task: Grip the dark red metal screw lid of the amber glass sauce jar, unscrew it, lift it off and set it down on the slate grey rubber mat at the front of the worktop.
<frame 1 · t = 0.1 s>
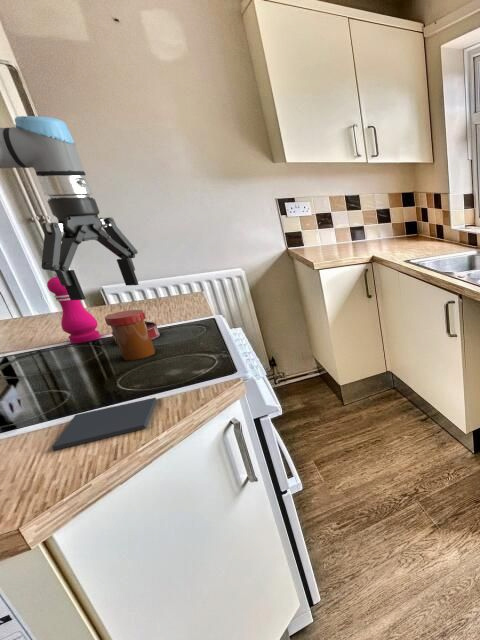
hand: (107, 292, 99), 17 cm above the worktop, tool pointing down, fingers open, 13 cm apart
mat: (110, 423, 77), on the worktop
lid: (124, 315, 104), point 11 cm above the worktop, screwed on, not yet turned
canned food: (138, 339, 120), on the worktop
pepper mill: (86, 340, 121), on the worktop
jar: (139, 355, 108), on the worktop
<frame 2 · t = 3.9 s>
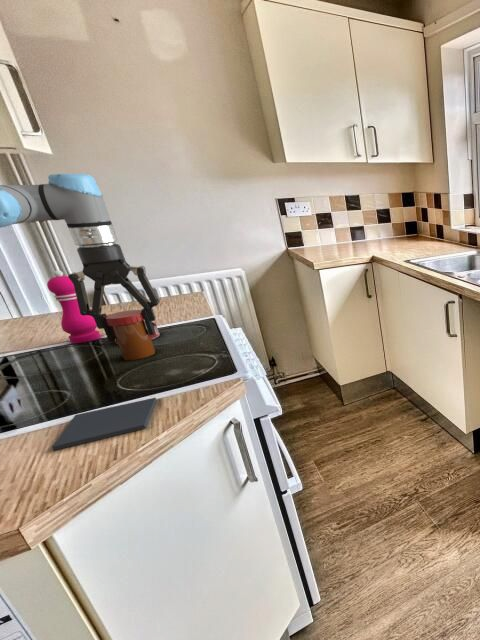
hand: (132, 336, 106), 5 cm above the worktop, tool pointing down, fingers closed on lid, 7 cm apart
lid: (124, 315, 104), point 11 cm above the worktop, screwed on, not yet turned, touching gripper
everything else where it was.
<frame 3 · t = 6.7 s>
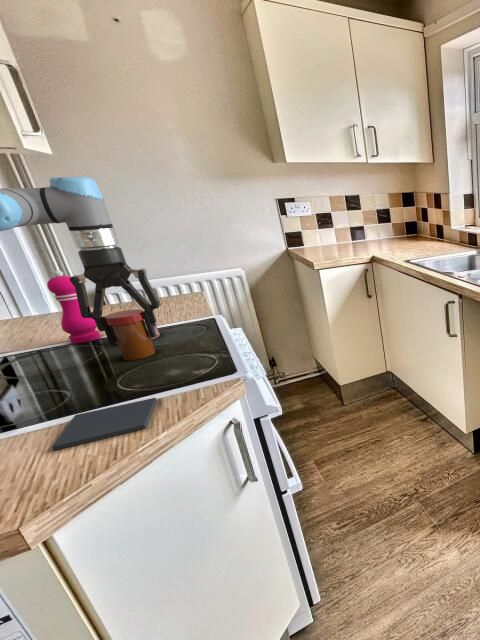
hand: (133, 339, 107), 4 cm above the worktop, tool pointing down, fingers closed on lid, 7 cm apart
lid: (124, 315, 104), point 11 cm above the worktop, turned 78° so far, risen 0.1 cm, still on its thread, touching gripper
everything else where it was.
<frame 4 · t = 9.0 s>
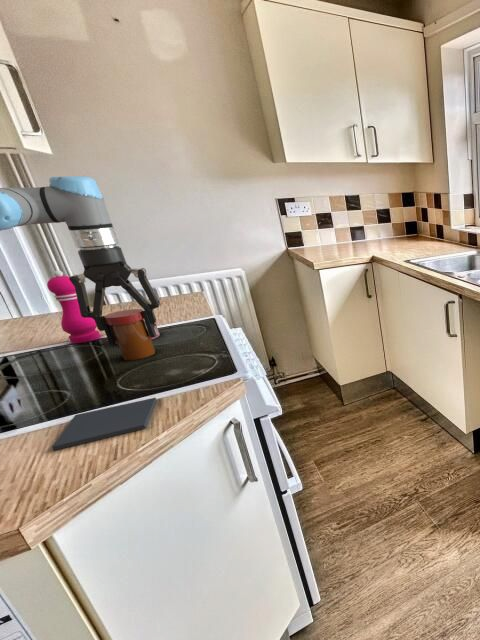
hand: (133, 338, 106), 5 cm above the worktop, tool pointing down, fingers closed on lid, 7 cm apart
lid: (124, 314, 104), point 11 cm above the worktop, turned 155° so far, risen 0.2 cm, still on its thread, touching gripper
everything else where it was.
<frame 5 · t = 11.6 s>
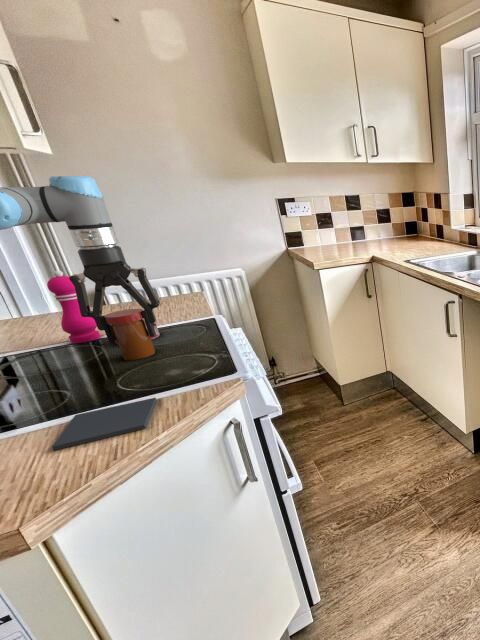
hand: (133, 338, 106), 5 cm above the worktop, tool pointing down, fingers closed on lid, 7 cm apart
lid: (124, 314, 104), point 11 cm above the worktop, turned 233° so far, risen 0.3 cm, still on its thread, touching gripper
everything else where it was.
when the fingers open (2 cm above the worktop, at t = 23.8 s): lid drops 6 cm, resting on mat.
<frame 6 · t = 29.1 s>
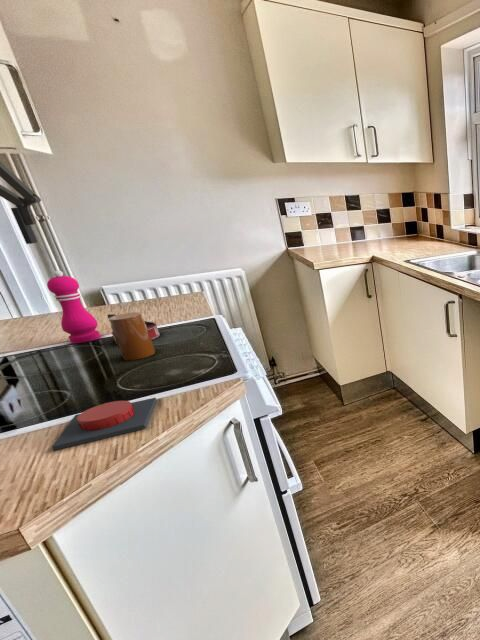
lid: (105, 412, 76), point 2 cm above the worktop, off its thread, touching mat
everything else where it was.
at the end: lid came off its thread; lid inside the target area on the mat (0.0 cm from its centre), point 2.3 cm above the mat's base; the gripper is holding nothing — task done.
